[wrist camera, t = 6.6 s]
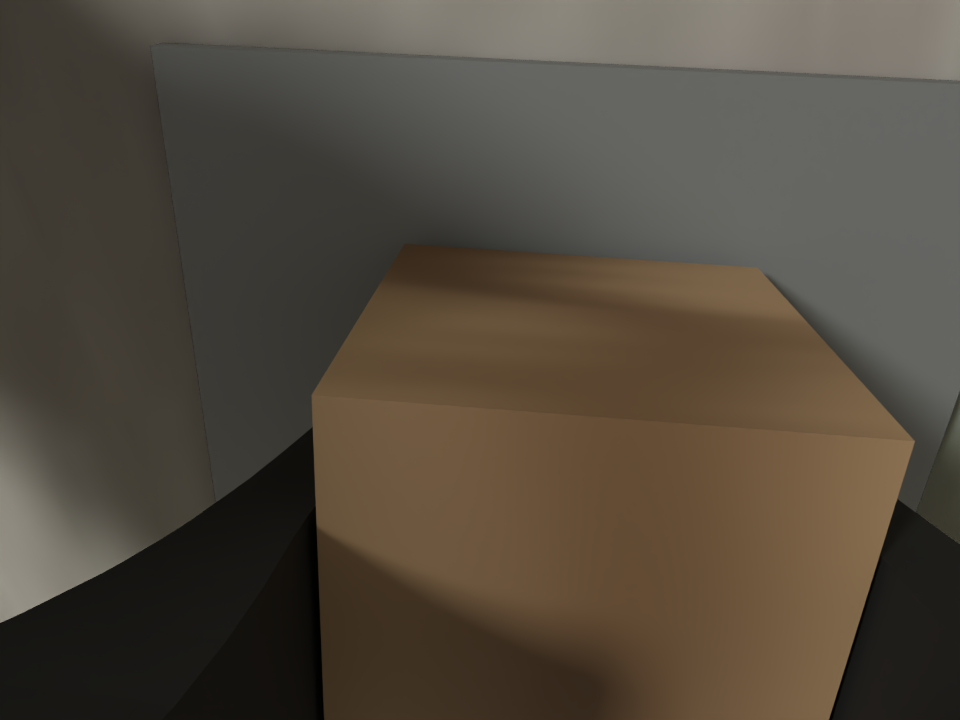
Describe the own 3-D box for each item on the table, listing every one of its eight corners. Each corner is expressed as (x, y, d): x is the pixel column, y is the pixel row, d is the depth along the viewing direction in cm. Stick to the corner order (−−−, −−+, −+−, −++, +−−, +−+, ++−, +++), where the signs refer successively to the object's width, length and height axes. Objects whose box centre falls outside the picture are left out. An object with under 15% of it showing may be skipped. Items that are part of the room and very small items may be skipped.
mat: (237, 587, 15) (229, 602, 15) (163, 42, 11) (150, 45, 11) (857, 636, 15) (865, 653, 15) (1050, 84, 10) (1069, 89, 10)
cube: (401, 533, 13) (327, 804, 9) (404, 243, 11) (312, 395, 7) (700, 558, 13) (787, 849, 8) (757, 267, 11) (914, 441, 6)
